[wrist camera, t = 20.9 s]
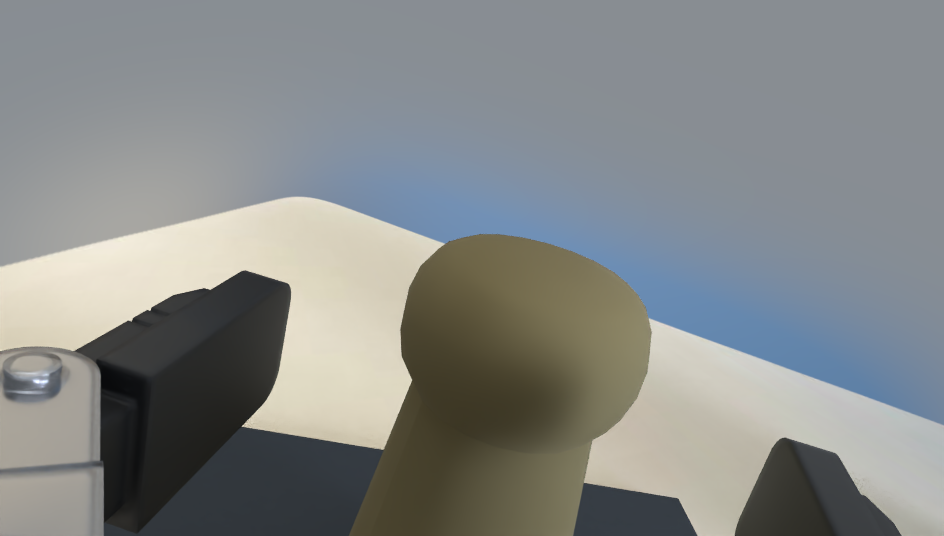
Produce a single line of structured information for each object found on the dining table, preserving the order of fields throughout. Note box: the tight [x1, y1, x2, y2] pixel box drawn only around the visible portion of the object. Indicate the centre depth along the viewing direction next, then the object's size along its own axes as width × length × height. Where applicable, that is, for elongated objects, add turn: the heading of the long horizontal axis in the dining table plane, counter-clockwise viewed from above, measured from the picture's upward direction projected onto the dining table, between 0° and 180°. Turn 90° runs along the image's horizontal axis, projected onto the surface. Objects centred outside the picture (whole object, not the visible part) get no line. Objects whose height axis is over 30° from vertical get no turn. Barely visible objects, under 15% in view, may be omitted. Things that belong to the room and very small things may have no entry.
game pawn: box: [349, 234, 652, 536], centre depth 16 cm, size 6×6×11 cm
